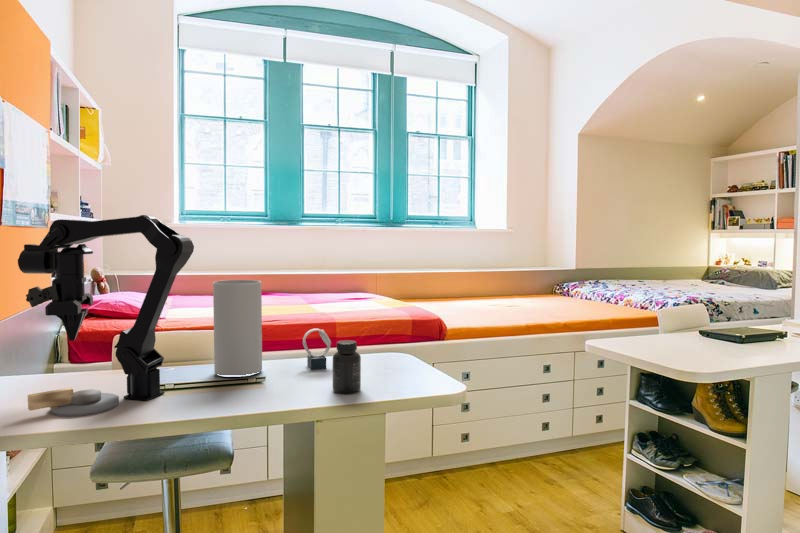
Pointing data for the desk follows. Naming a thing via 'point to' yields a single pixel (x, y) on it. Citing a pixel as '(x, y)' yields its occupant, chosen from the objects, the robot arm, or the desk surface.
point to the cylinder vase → (237, 327)
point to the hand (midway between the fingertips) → (72, 340)
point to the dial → (62, 398)
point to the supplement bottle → (346, 368)
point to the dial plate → (87, 407)
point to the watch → (317, 359)
